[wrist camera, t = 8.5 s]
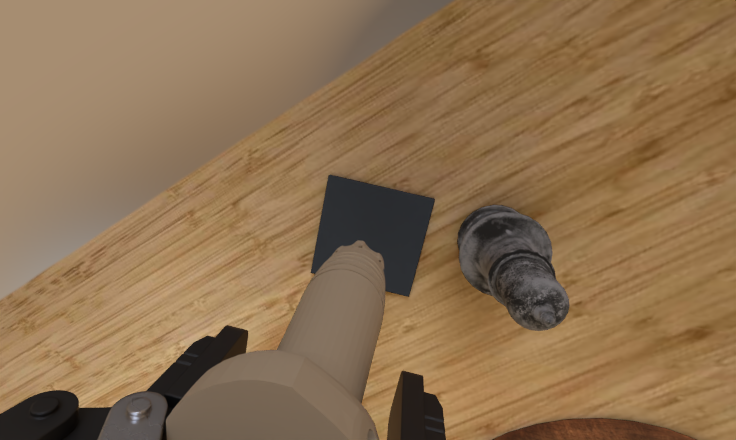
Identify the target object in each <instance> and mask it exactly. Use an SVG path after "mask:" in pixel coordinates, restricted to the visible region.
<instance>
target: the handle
mask: <svg viewBox="0 0 736 440" xmlns="http://www.w3.org/2000/svg"><path fill="white" fill-rule="evenodd" d="M383 269H384V261H383V257H382V256H381V254H380V253H376V252H374V251H373V250H371V249H370V248H369V247H368V246H367V245H366V244H365V242H364V241H359V240H358V241H356V242H355V243H354V244H352V245H349V246H340V247H339V248H338V249H337V250H336V251H335V252H334V253H333V254H332V256H331V257H330V258H329V259H328V260H327V261H325V263H324V264H323V265H322V266H321V267H320V268H319V270H318V271H317V272H316V273H315V275H314V276H313V278H312V280H311V281H310V283H309V284H308V286H307V288H306V290H305V291H304V293H303V296H302V298H301V300H300V302H299V304H298V306H297V309H296V311H295V313H294V315H293V317H292V319H291V321H290V324H289V326H288V328H287V330H286V332H285V334H284V336H283V338H282V340H281V342H280V344H279V346H278V348H277V350H264V351H254V352H249V353H244V354H240V355H237V356H235V357H232V358H229V359H227V360H224V361H222V362H221V363H219V364H217V365H216V366H214V367H212V368H211V369H209V370H208V371H207V372H206V373H205V374H204V375H203V376H202V377H201V378H200V379H199V380H198V381H197V382H196V383H195V384H194V385H193V386H192V387H191V388H190V390H189V391H188V392H187V393H186V394H185V396H184V397H183V398H182V399H181V400H180V402H179V403H178V404H177V405H176V406H175V408H174V409H173V410H172V412H171V413H170V415H169V416H168V417H167V419H166V432H167V440H379V437H378V434H377V431H376V427H375V424H374V422H373V420H372V419H371V417H370V415H369V414H368V412H367V410H366V409H365V408H364V407H363V406H362V404H361V403H362V399H363V395H364V391H365V387H366V383H367V379H368V375H369V371H370V366H371V363H372V359H373V355H374V351H375V347H376V344H377V340H378V336H379V332H380V329H381V325H382V320H383V315H384V307H385V276H384V271H383Z"/></svg>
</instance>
